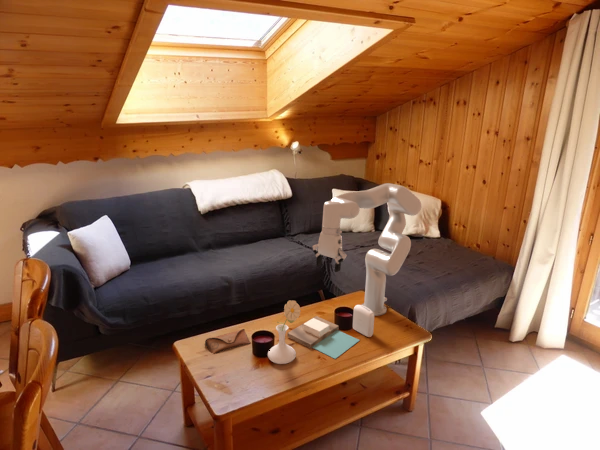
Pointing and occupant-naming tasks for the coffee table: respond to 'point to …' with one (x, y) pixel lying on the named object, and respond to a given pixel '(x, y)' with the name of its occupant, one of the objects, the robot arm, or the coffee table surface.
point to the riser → (308, 338)
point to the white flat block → (316, 327)
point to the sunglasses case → (227, 341)
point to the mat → (336, 344)
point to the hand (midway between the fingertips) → (327, 268)
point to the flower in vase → (282, 350)
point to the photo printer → (363, 320)
